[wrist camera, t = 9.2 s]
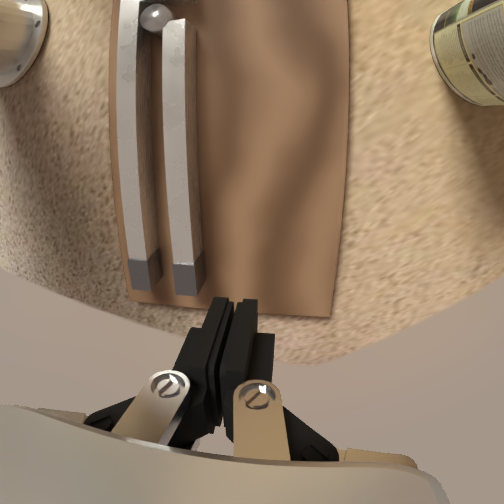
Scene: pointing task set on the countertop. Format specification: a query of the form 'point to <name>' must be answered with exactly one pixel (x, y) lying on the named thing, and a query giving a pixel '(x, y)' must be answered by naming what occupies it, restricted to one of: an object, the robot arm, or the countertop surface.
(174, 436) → the robot arm
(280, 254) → the walnut board
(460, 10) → the coffee can
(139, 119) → the tongs fixed arm
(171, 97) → the tongs arm
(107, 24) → the countertop surface
